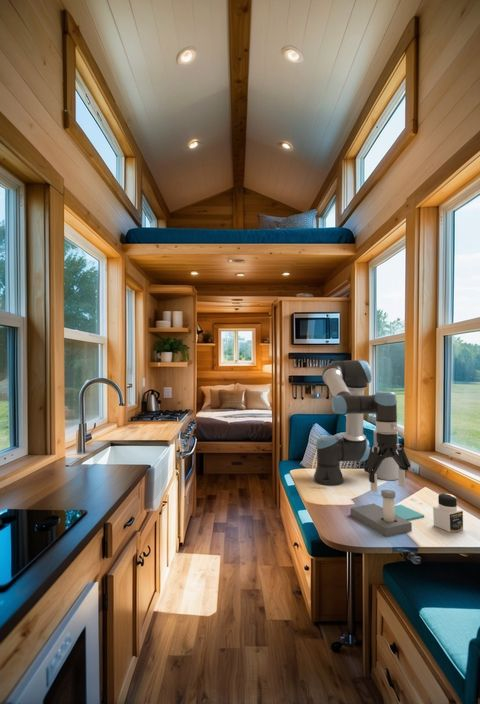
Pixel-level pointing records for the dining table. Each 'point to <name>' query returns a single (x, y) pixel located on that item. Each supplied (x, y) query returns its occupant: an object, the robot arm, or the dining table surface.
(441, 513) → the medicine bottle
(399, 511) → the mat
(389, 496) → the plug
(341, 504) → the dining table surface
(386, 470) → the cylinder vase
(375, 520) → the grey socket plate
